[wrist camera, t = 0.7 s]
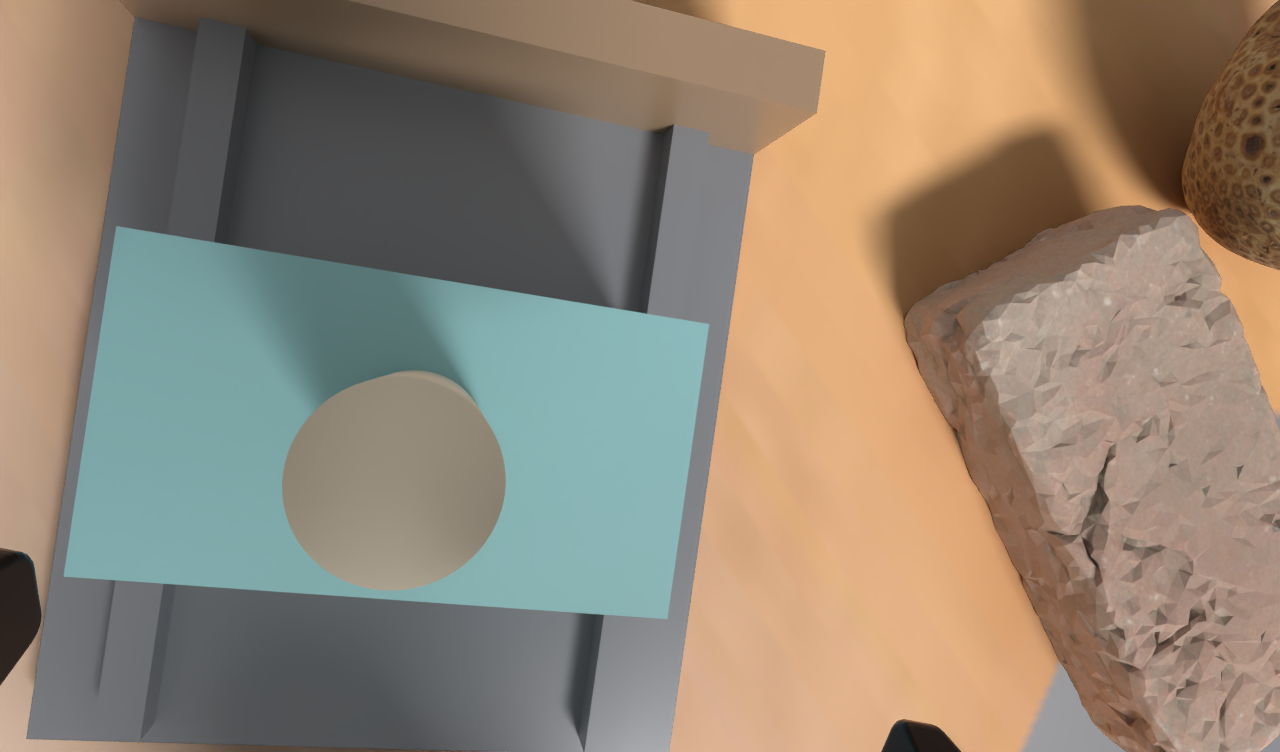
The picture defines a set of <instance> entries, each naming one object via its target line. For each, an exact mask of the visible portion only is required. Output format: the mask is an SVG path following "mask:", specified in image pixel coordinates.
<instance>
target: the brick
mask: <svg viewBox="0 0 1280 752" xmlns="http://www.w3.org/2000/svg"><path fill="white" fill-rule="evenodd" d="M1221 280H1222V279H1221V277H1220V275H1219V273H1218V271H1217V269H1216V267H1215V265H1214V264H1213V262H1212V261H1211V259H1210V258H1209V257H1208V256H1207V254H1206V253H1205V252H1204V251H1203V250H1202V248H1201V247H1200V241H1199V234H1198V227H1197V226H1196V225H1195V224H1194V223H1193V221H1192V220H1191V219H1190V218H1189V216H1188V215H1186V214H1185V213H1183V212H1181V211H1178V210H1176V209H1170V208H1167V209H1164V210H1160V211H1155V210H1152V209H1149V208H1146V207H1143V206H1140V205H1138V206H1119V207H1115V208H1110V209H1105V210H1101V211H1096V212H1092V213H1090V214H1088V215H1087V216H1084V217H1082V218H1079V219H1076V220H1074V221H1071V222H1068V223H1065V224H1063V225H1059V226H1058V227H1057V228H1055V229H1053V228H1050V229H1047V230H1045V231H1042V232H1040V233H1038V234H1036V235H1035V237H1034V238H1033V239H1032V240H1031V241H1030V242H1029V243H1026V244H1025V246H1024V248H1022V249H1019V250H1015V252H1014V253H1012V254H1010V255H1008V256H1006V257H1004V258H1003V260H1001V261H999V262H995V263H993V264H991V265H990V266H989V268H986V269H984V270H978V272H974V273H972V274H970V275H968V276H967V277H965V278H963V279H962V280H956V281H952V282H949V283H947V284H945V285H942V286H940V287H938V288H937V289H936V290H934V291H933V292H932V293H931V294H930V295H928V296H926V297H925V298H923V299H921V300H919V301H918V302H916V303H915V304H914V305H913V306H912V308H911V309H910V311H909V312H908V313H907V315H906V318H905V320H904V327H905V330H906V333H907V343H908V344H909V346H910V347H911V349H912V351H913V353H914V355H915V358H916V360H917V362H918V368H919V371H920V374H921V376H922V378H923V380H924V381H925V383H926V385H927V387H928V389H929V391H930V393H931V394H932V396H933V398H934V400H935V402H936V404H937V406H938V408H939V409H940V411H941V412H942V414H943V416H944V417H945V419H946V420H947V421H948V422H949V423H950V424H951V426H952V427H953V428H955V429H956V430H957V433H956V436H957V439H958V441H959V443H960V447H961V450H962V453H963V457H964V459H965V463H966V466H967V468H968V471H969V473H970V476H971V478H972V480H973V482H974V483H975V484H976V486H977V487H978V489H979V492H980V493H981V494H982V496H983V497H984V499H985V500H986V502H987V503H988V505H989V508H990V511H991V514H992V517H993V522H994V526H995V529H996V531H997V532H998V534H999V536H1000V538H1001V540H1002V541H1003V543H1004V545H1005V547H1006V549H1007V551H1008V554H1009V556H1010V558H1011V561H1012V563H1013V565H1014V566H1015V568H1016V569H1017V570H1018V572H1019V573H1020V574H1021V575H1022V577H1023V578H1022V583H1023V586H1024V588H1025V590H1026V592H1027V595H1028V597H1029V599H1030V601H1031V603H1032V605H1033V607H1034V609H1035V611H1036V613H1037V615H1038V616H1039V618H1040V620H1041V623H1042V625H1043V627H1044V630H1045V632H1046V634H1047V635H1048V637H1049V639H1050V641H1051V643H1052V646H1053V648H1054V650H1055V652H1056V654H1057V657H1058V659H1059V660H1060V662H1061V664H1062V665H1063V667H1064V668H1065V670H1066V671H1067V673H1068V675H1069V677H1070V679H1071V681H1072V683H1073V685H1074V687H1075V688H1076V690H1077V692H1078V694H1079V697H1080V699H1081V702H1082V705H1083V706H1084V708H1085V709H1086V711H1087V712H1088V714H1089V716H1090V718H1091V720H1092V722H1093V723H1094V724H1095V725H1096V726H1097V727H1098V728H1099V729H1100V730H1101V731H1102V732H1103V733H1104V734H1105V735H1106V736H1107V737H1108V738H1109V739H1110V740H1112V741H1113V742H1114V743H1115V744H1117V745H1118V746H1119V747H1121V748H1122V749H1123V750H1125V751H1126V752H1259V751H1261V750H1262V749H1263V748H1264V747H1266V746H1267V745H1268V744H1269V743H1271V742H1272V741H1273V740H1274V739H1275V738H1276V737H1277V736H1278V735H1279V734H1280V431H1279V428H1278V425H1277V422H1276V419H1275V416H1274V413H1273V410H1272V407H1271V405H1270V402H1269V399H1268V396H1267V394H1266V392H1265V390H1264V388H1263V387H1262V385H1261V380H1260V375H1259V371H1258V369H1257V367H1256V364H1255V362H1254V359H1253V357H1252V354H1251V351H1250V348H1249V346H1248V344H1247V342H1246V340H1245V337H1244V332H1243V326H1242V324H1241V321H1240V319H1239V317H1238V315H1237V312H1236V310H1235V308H1234V306H1233V304H1232V302H1231V300H1230V299H1229V298H1227V297H1226V296H1225V295H1224V294H1222V293H1221V292H1220V287H1221Z"/></svg>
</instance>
